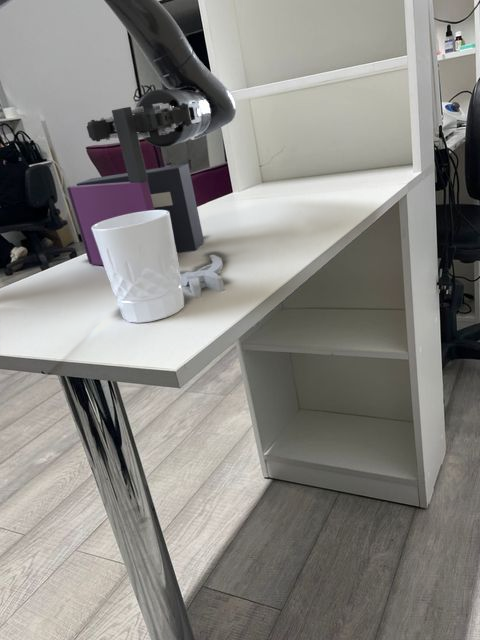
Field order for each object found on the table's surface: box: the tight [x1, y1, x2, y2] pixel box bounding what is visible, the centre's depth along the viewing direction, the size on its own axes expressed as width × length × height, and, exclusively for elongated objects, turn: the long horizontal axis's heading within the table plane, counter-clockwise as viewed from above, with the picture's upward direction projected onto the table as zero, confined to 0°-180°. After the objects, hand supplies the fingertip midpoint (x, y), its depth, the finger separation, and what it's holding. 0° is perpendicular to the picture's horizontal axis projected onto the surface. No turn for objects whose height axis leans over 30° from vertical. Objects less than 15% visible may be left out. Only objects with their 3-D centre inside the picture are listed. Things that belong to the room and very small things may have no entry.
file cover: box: [66, 106, 154, 266], centre depth 75 cm, size 17×1×20 cm, turn 52°
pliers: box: [180, 254, 226, 298], centre depth 67 cm, size 10×2×15 cm
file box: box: [76, 163, 205, 254], centre depth 83 cm, size 16×5×12 cm, turn 81°
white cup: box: [91, 210, 185, 324], centre depth 56 cm, size 8×8×10 cm
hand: (122, 126), depth 66 cm, fingers open, 8 cm apart
